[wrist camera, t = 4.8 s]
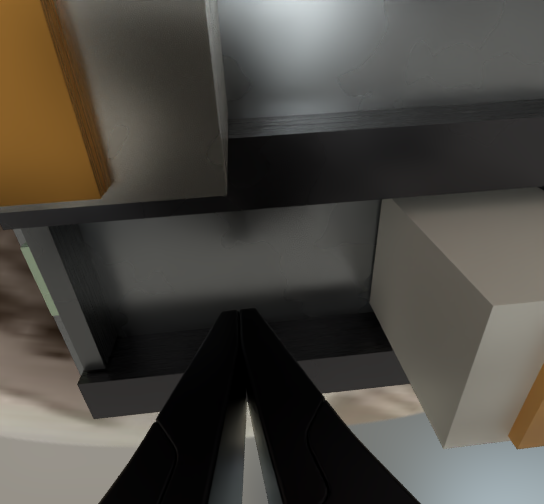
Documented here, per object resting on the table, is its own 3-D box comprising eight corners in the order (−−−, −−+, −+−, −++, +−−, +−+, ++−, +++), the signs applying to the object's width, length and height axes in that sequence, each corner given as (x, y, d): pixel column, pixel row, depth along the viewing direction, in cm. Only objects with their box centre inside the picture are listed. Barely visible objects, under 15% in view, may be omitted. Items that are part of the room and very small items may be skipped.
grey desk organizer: (627, -46, 9) (1264, -165, 3) (499, 308, 15) (659, 475, 9) (-63, -18, 8) (-709, -119, 2) (91, 350, 14) (0, 563, 8)
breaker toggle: (521, 179, 10) (743, 293, 6) (485, 291, 12) (628, 440, 8) (383, 189, 10) (504, 318, 6) (369, 302, 12) (450, 462, 8)
